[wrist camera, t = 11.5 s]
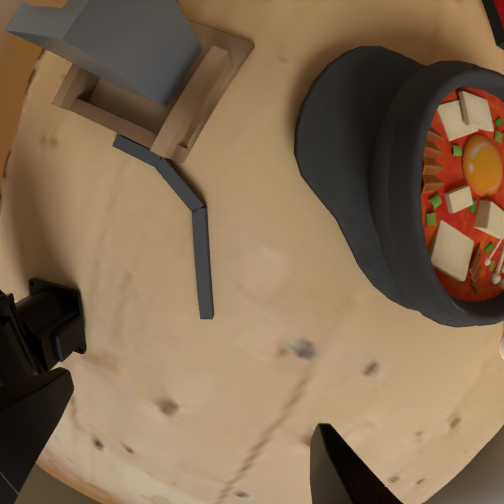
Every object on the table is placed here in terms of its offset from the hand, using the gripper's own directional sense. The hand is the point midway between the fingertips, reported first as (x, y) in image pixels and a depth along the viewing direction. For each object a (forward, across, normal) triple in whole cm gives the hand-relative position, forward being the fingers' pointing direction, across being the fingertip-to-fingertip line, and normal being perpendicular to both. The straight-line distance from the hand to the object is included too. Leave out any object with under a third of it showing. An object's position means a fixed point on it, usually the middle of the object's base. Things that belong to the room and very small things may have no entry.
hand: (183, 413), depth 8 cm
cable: (+13, +5, -4) cm, 15 cm away
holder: (+13, +7, -15) cm, 21 cm away
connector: (+12, +8, -15) cm, 21 cm away
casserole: (+14, -15, -10) cm, 22 cm away
